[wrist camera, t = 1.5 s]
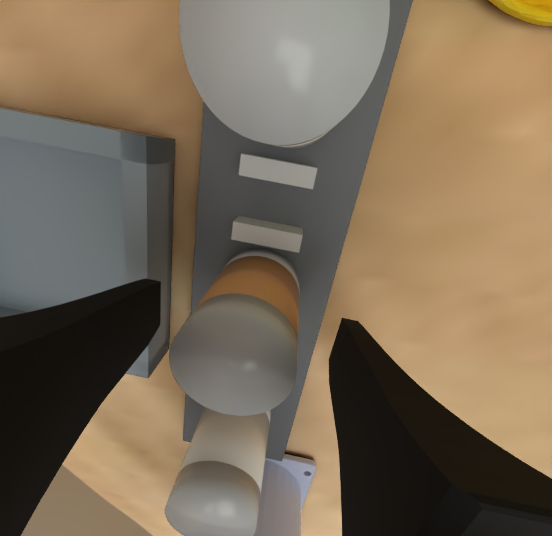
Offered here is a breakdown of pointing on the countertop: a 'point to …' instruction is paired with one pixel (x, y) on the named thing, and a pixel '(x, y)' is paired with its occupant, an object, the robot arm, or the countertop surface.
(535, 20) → the stacking cups
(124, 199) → the tray
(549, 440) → the countertop surface
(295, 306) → the marked fuse
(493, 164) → the countertop surface
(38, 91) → the countertop surface
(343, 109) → the ball
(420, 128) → the countertop surface
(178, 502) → the cylinder
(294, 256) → the board
